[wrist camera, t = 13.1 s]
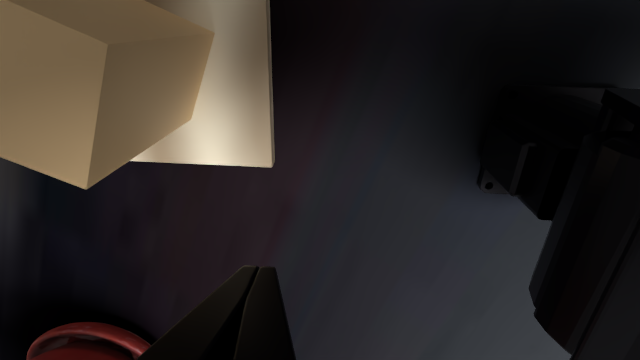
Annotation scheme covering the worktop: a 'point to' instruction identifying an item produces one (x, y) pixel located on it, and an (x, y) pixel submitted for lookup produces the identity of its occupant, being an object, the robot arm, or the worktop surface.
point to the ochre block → (94, 82)
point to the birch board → (226, 89)
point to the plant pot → (87, 343)
